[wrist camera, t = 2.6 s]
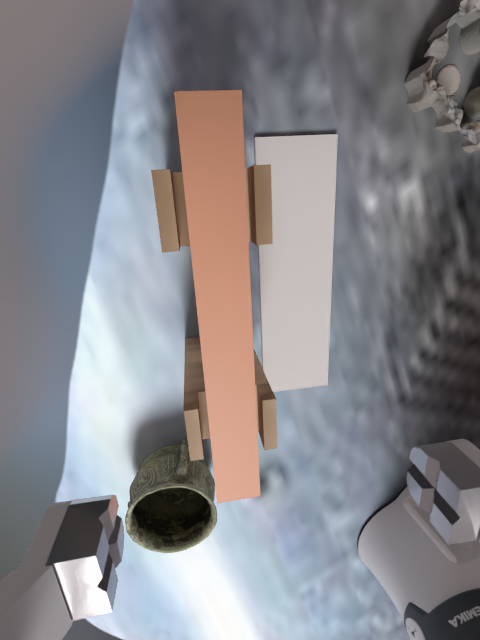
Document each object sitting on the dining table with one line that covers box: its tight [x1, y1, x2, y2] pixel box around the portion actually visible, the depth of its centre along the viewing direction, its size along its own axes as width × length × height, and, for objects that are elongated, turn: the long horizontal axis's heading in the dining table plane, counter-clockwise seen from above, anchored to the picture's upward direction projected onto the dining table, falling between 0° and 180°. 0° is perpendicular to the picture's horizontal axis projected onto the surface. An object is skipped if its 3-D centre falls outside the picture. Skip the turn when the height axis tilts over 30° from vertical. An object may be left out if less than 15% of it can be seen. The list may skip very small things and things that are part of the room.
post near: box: [151, 164, 273, 252], centre depth 23 cm, size 6×4×12 cm, turn 93°
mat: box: [254, 134, 338, 392], centre depth 32 cm, size 7×24×1 cm, turn 3°
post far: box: [184, 337, 277, 461], centre depth 28 cm, size 6×4×12 cm, turn 93°
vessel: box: [125, 439, 217, 553], centre depth 35 cm, size 12×9×6 cm
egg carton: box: [404, 0, 480, 153], centre depth 27 cm, size 11×8×4 cm
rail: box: [174, 90, 260, 503], centre depth 20 cm, size 3×24×3 cm, turn 3°
